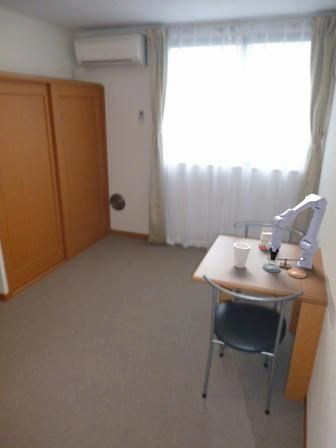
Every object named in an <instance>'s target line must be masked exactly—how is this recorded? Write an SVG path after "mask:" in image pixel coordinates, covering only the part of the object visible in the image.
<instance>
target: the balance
mask: <svg viewBox="0 0 336 448" xmlns="http://www.w3.org/2000/svg"><path fill="white" fill-rule="evenodd" d="M266 259H267V260H268V259H269V256H268V257H267V258H266ZM304 260H306V258H304V257H300V256H299V257H298V258H285V257H284V258H277V261H280V262H279V265H278V266H279V267H280V268H282V269H287V270H289V269H291V264H290V263H287V261H288V262H290V261H295V262H296V261H297V262H298V261H304ZM281 261H284V262H281Z"/></svg>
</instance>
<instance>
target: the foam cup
mask: <svg viewBox="0 0 336 448" xmlns="http://www.w3.org/2000/svg"><path fill="white" fill-rule="evenodd" d="M250 251H251V245H250V244H247V243H246V242H235V243H234V244H233V264H234V267H236V268H239V269H244V268H245V267H246V264H247V260H248V258H249V254H250Z"/></svg>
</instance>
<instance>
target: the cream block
mask: <svg viewBox="0 0 336 448" xmlns="http://www.w3.org/2000/svg"><path fill="white" fill-rule="evenodd" d="M268 257H269V259H267V262H269V263H272V264H277V262H278V260H277V259H279V258H278V257H279V253H278V254H277V256H276V258H275V261H273V260H271V255H270V252H269V255H268Z"/></svg>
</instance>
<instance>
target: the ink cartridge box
mask: <svg viewBox="0 0 336 448" xmlns="http://www.w3.org/2000/svg"><path fill="white" fill-rule="evenodd" d="M272 231H273V227H268V226H267V227H265V226H264V227H263V226H262V228H261V231H260V238H259V244H258V248H259V249H260V250H261V251H269V248H271V245H269V244H268V243H269V242H271V237H272Z"/></svg>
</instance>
